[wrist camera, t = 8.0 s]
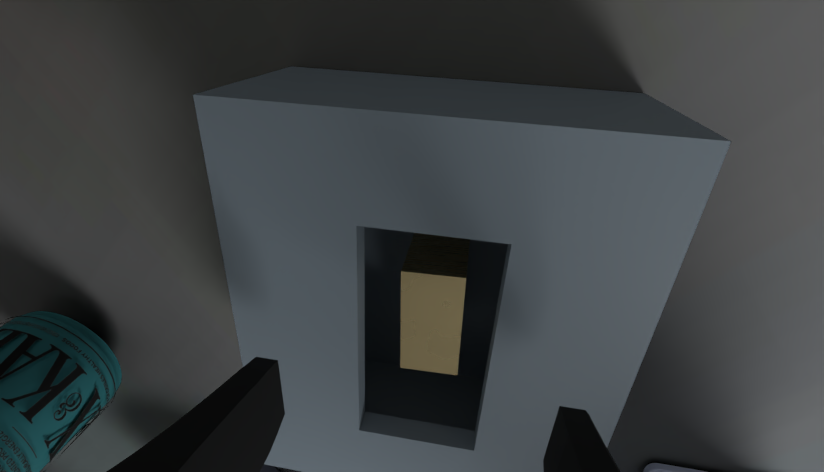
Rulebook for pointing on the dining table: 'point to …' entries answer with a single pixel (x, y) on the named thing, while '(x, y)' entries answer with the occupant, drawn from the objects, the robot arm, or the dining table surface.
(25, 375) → the beverage bottle
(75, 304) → the dining table surface
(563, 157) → the grey block with hole
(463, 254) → the brass block
